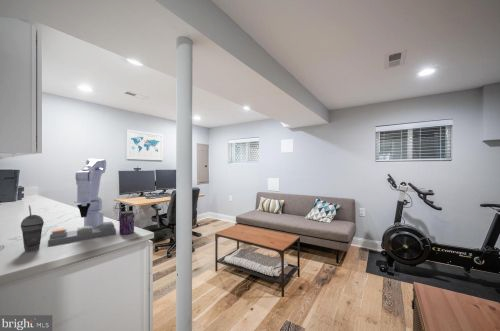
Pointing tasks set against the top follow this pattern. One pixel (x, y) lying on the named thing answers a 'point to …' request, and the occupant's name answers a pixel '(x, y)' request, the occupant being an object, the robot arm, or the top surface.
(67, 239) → the button panel
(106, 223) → the slate button
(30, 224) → the beverage cup
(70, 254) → the top surface
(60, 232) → the terracotta button
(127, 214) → the beverage can
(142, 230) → the top surface
